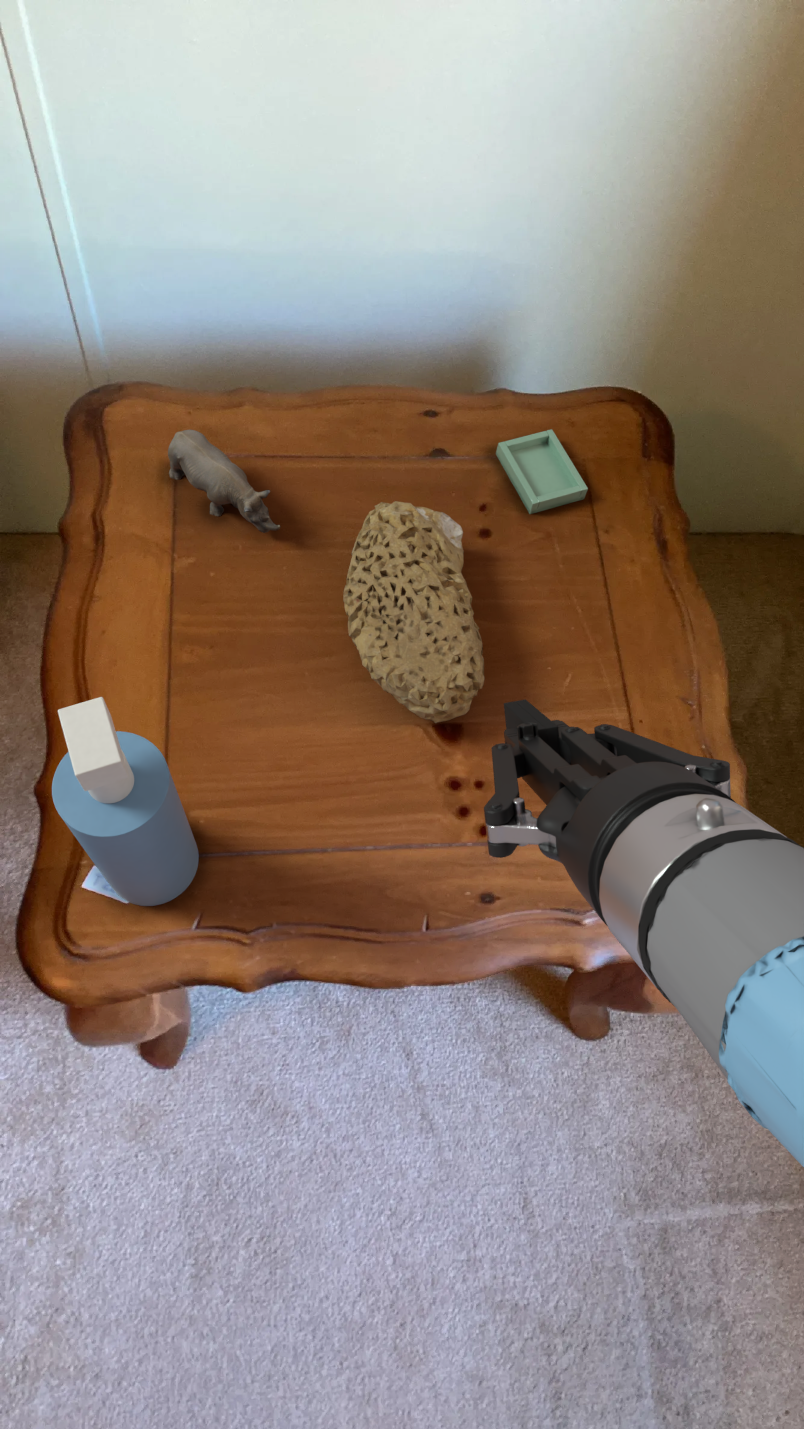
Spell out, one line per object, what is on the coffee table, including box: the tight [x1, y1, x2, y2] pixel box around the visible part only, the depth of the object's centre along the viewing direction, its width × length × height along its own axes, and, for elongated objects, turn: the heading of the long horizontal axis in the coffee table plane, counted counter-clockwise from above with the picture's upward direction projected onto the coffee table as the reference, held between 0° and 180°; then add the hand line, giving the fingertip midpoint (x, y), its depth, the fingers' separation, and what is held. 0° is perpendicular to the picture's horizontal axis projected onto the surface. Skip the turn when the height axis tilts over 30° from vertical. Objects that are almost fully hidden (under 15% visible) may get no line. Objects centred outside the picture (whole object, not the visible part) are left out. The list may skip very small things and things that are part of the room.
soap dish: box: [495, 428, 589, 515], centre depth 90 cm, size 8×6×2 cm
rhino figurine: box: [167, 429, 281, 534], centre depth 84 cm, size 4×14×6 cm, turn 48°
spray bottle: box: [51, 696, 200, 907], centre depth 61 cm, size 7×7×21 cm
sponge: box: [342, 500, 486, 724], centre depth 79 cm, size 13×8×20 cm
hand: (516, 720), depth 61 cm, fingers closed
